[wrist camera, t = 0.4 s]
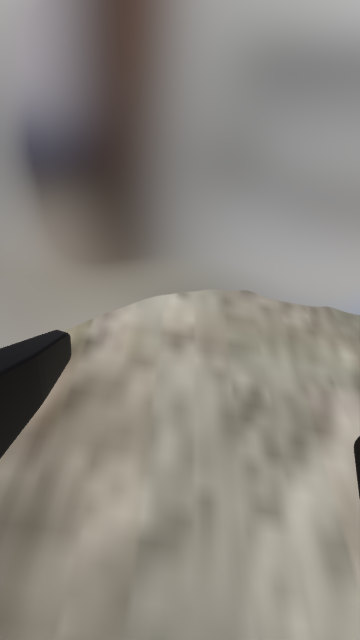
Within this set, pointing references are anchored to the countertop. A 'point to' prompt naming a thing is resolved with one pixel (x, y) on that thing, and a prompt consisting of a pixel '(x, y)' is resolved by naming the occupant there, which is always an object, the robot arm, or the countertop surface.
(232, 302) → the countertop surface
